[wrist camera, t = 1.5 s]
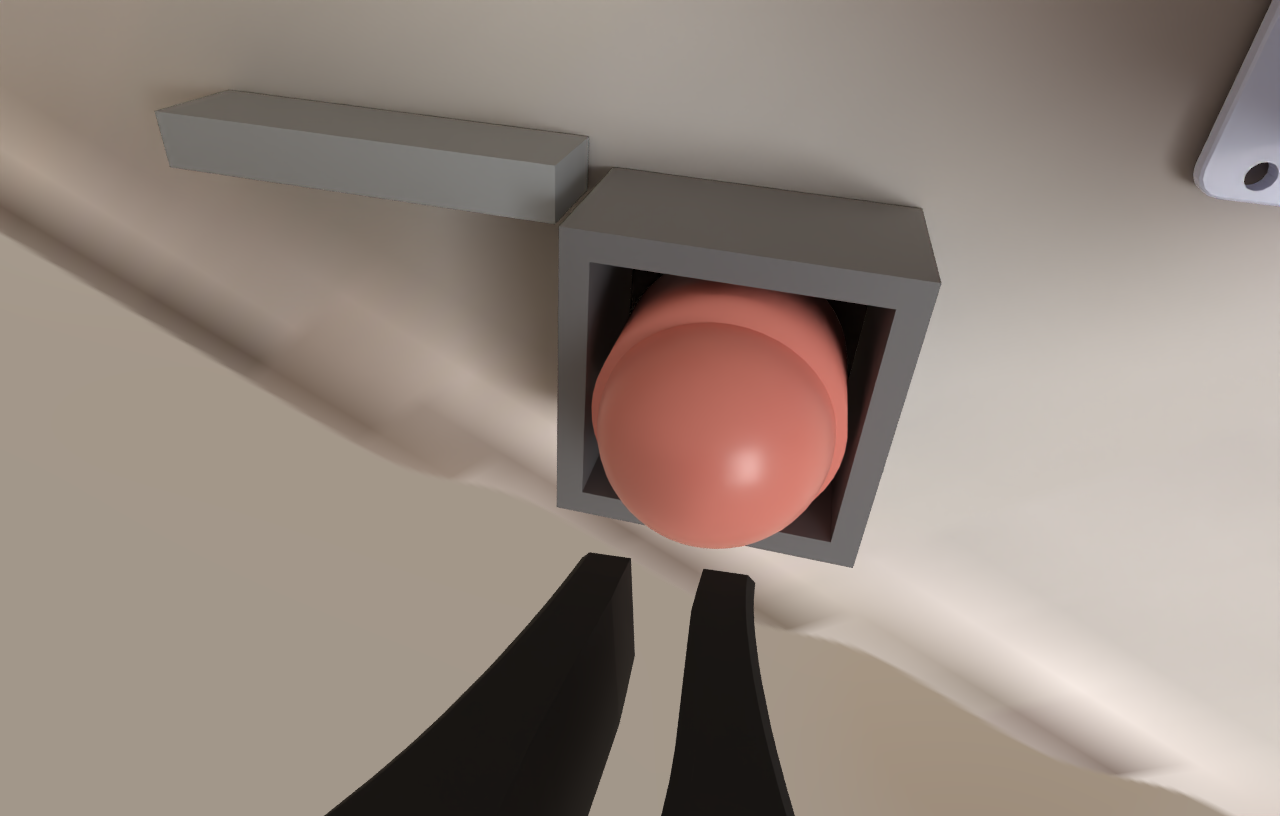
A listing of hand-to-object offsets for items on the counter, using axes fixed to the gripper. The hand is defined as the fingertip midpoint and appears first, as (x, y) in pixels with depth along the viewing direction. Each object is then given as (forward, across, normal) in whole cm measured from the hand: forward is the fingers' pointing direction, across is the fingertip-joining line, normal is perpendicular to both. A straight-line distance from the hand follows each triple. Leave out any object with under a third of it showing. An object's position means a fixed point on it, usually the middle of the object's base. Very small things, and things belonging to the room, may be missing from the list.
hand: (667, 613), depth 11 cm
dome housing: (+9, 0, 0) cm, 9 cm away
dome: (+8, 0, 0) cm, 8 cm away
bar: (+9, +8, -4) cm, 13 cm away
